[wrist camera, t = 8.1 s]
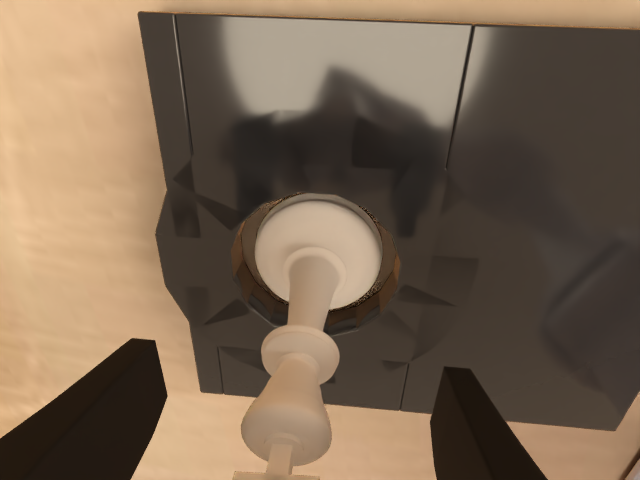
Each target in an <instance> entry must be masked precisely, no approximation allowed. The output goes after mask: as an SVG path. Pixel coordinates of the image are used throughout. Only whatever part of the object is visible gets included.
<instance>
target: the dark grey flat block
mask: <svg viewBox="0 0 640 480" xmlns="http://www.w3.org/2000/svg"><path fill="white" fill-rule="evenodd" d="M138 19H139V25H140V31H141V37H142V43H143V49H144V55H145V61H146V67H147V73H148V79H149V85H150V91H151V97H152V103H153V109H154V115H155V121H156V127H157V133H158V139H159V145H160V151H161V157H162V163H163V169H164V175H165V181H166V187H167V191H166V195H165V198H164V202H163V206H162V209H161V213H160V217H159V220H158V224H157V228H156V234H155V236H156V241H157V246H158V251H159V257H160V262H161V267H162V272H163V277H164V283H165V285H166V288H167V289H168V291H169V292H170V294H171V295H172V297H173V298H174V300H175V301H176V303H177V304H178V306H179V307H180V309H181V310H182V312H183V313H184V315H185V316H186V318H187V319H188V321H189V325H190V331H191V337H192V343H193V349H194V355H195V361H196V367H197V373H198V379H199V385H200V391H201V392H202V393H213V394H223V393H224V394H225V395H235V396H245V397H256V398H257V397H258V396H259V395H260V394H261V392H262V391H263V390H264V388H265V387H266V385H267V383H268V381H269V379H270V378H271V377H272V376H271V375H270V374H269V373H268V372H267V371H266V369H265V367H264V365H263V362H262V355H261V347H262V343H263V341H264V339H265V338H266V336H267V335H268V334H269V333H270V332H272V331H273V330H275V329H277V328H279V327H281V326H285V325H287V323H288V310H289V305H286V304H284V303H281V302H279V301H276V300H275V299H274V298H273V297H272V296H271V295H269V294H268V293H267V292H266V291H265V290H264V289H262V288H261V287H260V286H259V285H258V284H257V283H256V282H255V281H254V279H253V277H252V275H251V273H250V271H249V269H248V267H247V266H246V264H245V262H244V260H243V255H242V242H241V231H242V229H243V226H244V224H245V221H246V220H247V219H248V218H249V217H250V216H251V215H252V214H254V213H255V212H256V211H257V210H258V209H259V208H260V207H261V206H263V205H264V204H265V203H268V202H271V201H274V200H278V199H281V198H284V197H287V196H290V195H293V194H296V193H314V194H330V195H337V196H339V197H341V198H343V199H345V200H348V201H350V202H352V203H354V204H356V205H359V206H361V207H363V208H365V209H367V210H368V211H369V212H370V213H371V214H372V215H373V216H374V217H375V218H376V219H377V221H378V222H379V223H380V224H381V225H382V226H383V227H384V228H385V229H386V230H387V231H388V232H389V233H390V234H391V237H392V240H393V243H394V246H395V249H396V257H395V264H394V270H393V272H392V273H391V275H390V276H389V278H388V279H387V281H386V282H385V284H384V285H383V287H382V288H381V290H380V291H379V292H378V293H377V294H375V295H374V296H372V297H371V298H369V299H368V300H366V301H364V302H363V303H361V304H360V305H358V306H356V307H352V308H348V309H343V310H339V311H335V312H331V313H328V314H327V317H326V321H325V324H324V328H323V332H325V333H326V334H327V335H329V336H330V337H331V338H332V339H333V341H334V342H335V344H336V345H337V347H338V350H339V355H340V358H339V364H338V366H337V368H336V370H335V372H334V374H333V375H332V377H331V378H330V379H329V380H327V381H326V382H324V383H322V384H320V389H321V395H322V400H323V403H324V404H330V405H341V406H351V407H362V408H372V409H383V410H394V411H399V410H400V411H404V412H415V413H425V414H432V412H433V408H434V404H435V400H436V396H437V392H438V388H439V384H440V380H441V376H442V372H443V368H444V366H447V367H458V368H469V369H471V371H472V372H473V373H474V375H475V376H476V378H477V379H478V381H479V382H480V384H481V385H482V387H483V389H484V390H485V392H486V393H487V395H488V396H489V398H490V399H491V401H492V402H493V404H494V405H495V407H496V408H497V410H498V411H499V413H500V414H501V416H502V417H503V419H504V420H505V421H510V422H521V423H531V424H542V425H552V426H563V427H574V428H584V429H595V430H605V431H616V429H617V427H618V426H619V424H620V422H621V421H622V419H623V417H624V416H625V414H626V412H627V411H628V409H629V407H630V406H631V404H632V402H633V401H634V399H635V397H636V396H637V394H638V393H639V391H640V28H616V27H588V26H559V25H531V24H503V23H474V22H446V21H418V20H390V19H361V18H333V17H305V16H276V15H248V14H220V13H191V12H163V11H140V12H138Z"/></svg>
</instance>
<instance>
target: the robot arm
mask: <svg viewBox="0 0 640 480" xmlns="http://www.w3.org/2000/svg"><path fill="white" fill-rule="evenodd" d="M167 396H168V395H167V391H166V387H165V382H164V378H163V373H162V369H161V364H160V360H159V355H158V351H157V347H156V342H155V340H146V339H135V338H132V339H130V340H129V341H128V342H126V343H125V344H124V345H123V346H121V347H120V348H119V349H117V350H116V351H115V352H114V353H112V354H111V355H110V356H109V357H107V358H106V359H105V360H104V361H102V362H101V363H100V364H99V365H97V366H96V367H95V368H94V369H92V370H91V371H90V372H89V373H87V374H86V375H85V376H84V377H82V378H81V379H80V380H78V381H77V382H76V383H75V384H73V385H72V386H71V387H69V388H68V389H67V390H66V391H64V392H63V393H62V394H60V395H59V396H58V397H57V398H55V399H54V400H53V401H51V402H50V403H49V404H47V405H46V406H45V407H43V408H42V409H40V410H39V411H38V412H36V413H35V414H34V415H32V416H31V417H29V418H28V419H27V420H25V421H24V422H23V423H21V424H20V425H18V426H17V427H16V428H14V429H13V430H11V431H10V432H9V433H7V434H6V435H5V436H3V437H2V438H0V480H130V479H131V478H132V476H133V474H134V472H135V470H136V468H137V466H138V464H139V462H140V460H141V458H142V456H143V454H144V452H145V450H146V448H147V446H148V444H149V442H150V440H151V438H152V436H153V434H154V431H155V429H156V426H157V423H158V421H159V418H160V416H161V413H162V410H163V407H164V404H165V402H166V399H167ZM430 427H431V438H432V449H433V458H434V467H435V472H436V477H437V480H548V479H547V478H546V477H545V475H544V474H543V473H542V471H541V470H540V469H539V467H538V466H537V465H536V464H535V462H534V461H533V459H532V458H531V457H530V455H529V454H528V453H527V451H526V450H525V448H524V447H523V446H522V444H521V443H520V442H519V440H518V439H517V437H516V436H515V435H514V433H513V432H512V430H511V429H510V427H509V426H508V425H507V423H506V422H505V420H504V419H503V417H502V416H501V414H500V413H499V411H498V410H497V408H496V407H495V405H494V404H493V402H492V401H491V399H490V398H489V396H488V395H487V393H486V392H485V390H484V389H483V387H482V385H481V384H480V382H479V381H478V379H477V378H476V376H475V375H474V373H473V372H472V371H471V369H469V368H458V367H447V366H444V368H443V372H442V376H441V380H440V384H439V388H438V392H437V396H436V400H435V404H434V408H433V412H432V416H431V420H430ZM625 480H640V458H639V460H638V461H637V463H636V464H635V466H634V467H633V469H632V470H631V472H630V473H629V474H628V476H627V477H626V479H625Z"/></svg>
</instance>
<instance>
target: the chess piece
mask: <svg viewBox="0 0 640 480" xmlns="http://www.w3.org/2000/svg"><path fill="white" fill-rule="evenodd" d="M382 254H383V247H382V240H381V236H380V233H379V231H378V229H377V227H376V225H375V223H374V222H373V220H372V219H371V218H370V217H369V215H368V214H367V213H366V212H365V211H364V210H362V209H361V208H360V207H359V206H357V205H356V204H354V203H352V202H350V201H348V200H345V199H343V198H341V197H339V196H336V195H330V194H314V193H305V194H300V195H296V196H293V197H290V198H288V199H286V200H284V201H282V202H281V203H279V204H278V205H276V206H275V207H274V208H273V209H271V210H270V211H269V213H268V214H267V215H266V216H265V218H264V219H263V221H262V222H261V224H260V227H259V229H258V233H257V237H256V243H255V261H256V265H257V269H258V271H259V274H260V276H261V277H262V279H263V281H264V282H265V283H266V285H267V286H268V287H269V288H270V289H271V290H272V291H273V292H274V293H275V294H276V295H278V296H279V297H280V298H282V299H283V300H285V301H287V302H289V310H288V323H287V325H285V326H281V327H279V328H277V329H275V330H273V331H272V332H270V333H269V334H268V335H267V336H266V338H265V339H264V341H263V343H262V347H261V355H262V362H263V365H264V367H265V369H266V371H267V372H268V373H269V374H270V375H271V376H272V377H271V378H270V379H269V381H268V383H267V385H266V387H265V388H264V390H263V391H262V392H261V394H260V395H259V396H258V397H257V398H256V399H255V401H254V402H253V403H252V405H251V406H250V408H249V409H248V411H247V412H246V414H245V416H244V418H243V421H242V424H241V434H242V438H243V440H244V442H245V444H246V445H247V447H248V448H249V449H250V450H251V451H252V452H253V453H254V454H256V455H257V456H258V457H260V458H262V459H264V460H266V461H268V465H267V470H266V473H253V472H236V471H235V473H234V476H233V480H320V477H319V476H304V475H291V474H292V468H293V466H300V465H305V464H309V463H311V462H314V461H316V460H317V459H319V458H320V457H322V456H323V455H324V454H325V453H326V452H327V450H328V449H329V447H330V444H331V439H332V432H331V426H330V422H329V418H328V414H327V411H326V409H325V407H324V403H323V400H322V395H321V389H320V384H322V383H324V382H326V381H327V380H329V379H330V378H331V377H332V375H333V374H334V372H335V370H336V368H337V366H338V364H339V358H340V355H339V350H338V347H337V345H336V344H335V342H334V341H333V339H332V338H331V337H330V336H329V335H327V334H326V333H325V332H323V328H324V324H325V321H326V317H327V314H328V310H330V309H336V308H340V307H343V306H346V305H349V304H351V303H353V302H355V301H356V300H358V299H359V298H361V297H362V296H363V295H364V294H365V293H366V292H367V291H368V290H369V289H370V288H371V287H372V285H373V284H374V282H375V280H376V279H377V276H378V274H379V271H380V266H381V261H382Z"/></svg>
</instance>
